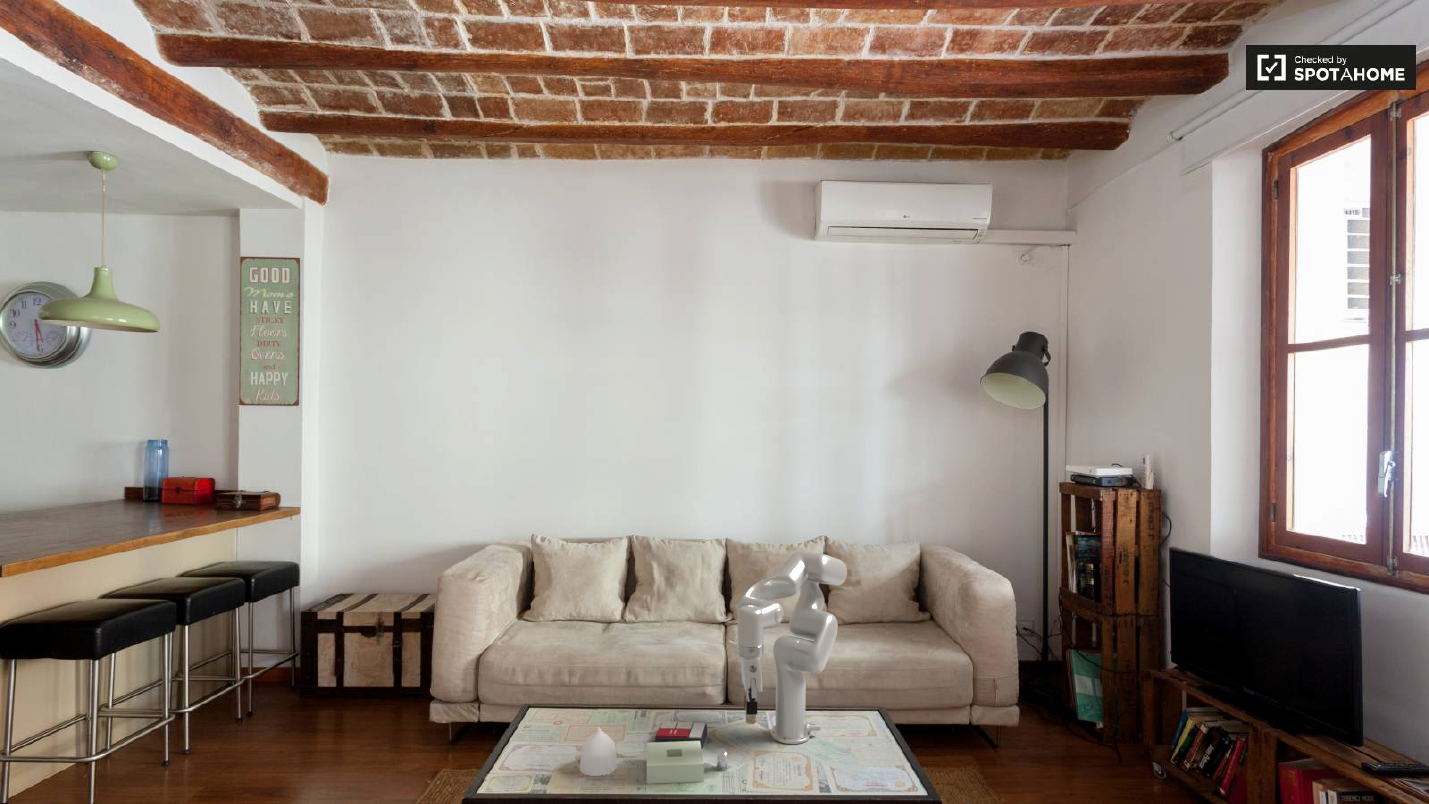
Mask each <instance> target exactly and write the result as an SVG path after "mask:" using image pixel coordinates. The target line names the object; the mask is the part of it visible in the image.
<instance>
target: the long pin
mask: <svg viewBox="0 0 1429 804" xmlns="http://www.w3.org/2000/svg"><path fill="white" fill-rule="evenodd" d="M749 690H751V689H749ZM750 695H751V693H749V696H750ZM746 701H747V692H746ZM756 722H757V714H756V715H747V714H746V713H745V724H748V725H754V724H756Z"/></svg>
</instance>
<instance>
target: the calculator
mask: <svg viewBox="0 0 1429 804" xmlns="http://www.w3.org/2000/svg"><path fill="white" fill-rule="evenodd" d="M707 736H708V723H706V722H693V721H678V722H677V721H662V722H661V723H660V726H659V728H658V730H657V732H656V734H655V736H654V742H681V741H700V743H701V749H702V750H703V748H704V747H705V743H706V739H707Z"/></svg>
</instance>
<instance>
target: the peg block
mask: <svg viewBox="0 0 1429 804" xmlns="http://www.w3.org/2000/svg"><path fill="white" fill-rule="evenodd" d="M704 771H705V762H704V757H703V749H701V743H700V741H681V742H655V741H654V742H646V784H647V785H650V784H651V785H652V784H655V785H656V784H675V783H676V784H679V783H702V782H703V783H704V782H705V772H704Z"/></svg>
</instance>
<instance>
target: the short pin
mask: <svg viewBox="0 0 1429 804" xmlns="http://www.w3.org/2000/svg"><path fill="white" fill-rule="evenodd" d="M716 751H717V752H716V753H717V754H716V757H717V758H716V761H717V762H716V763H717V764H716V768H717V770H718V771H719V772H725V771H727V770H728V752H729V751H728V749H726V748H719V749H717V750H716Z"/></svg>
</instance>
